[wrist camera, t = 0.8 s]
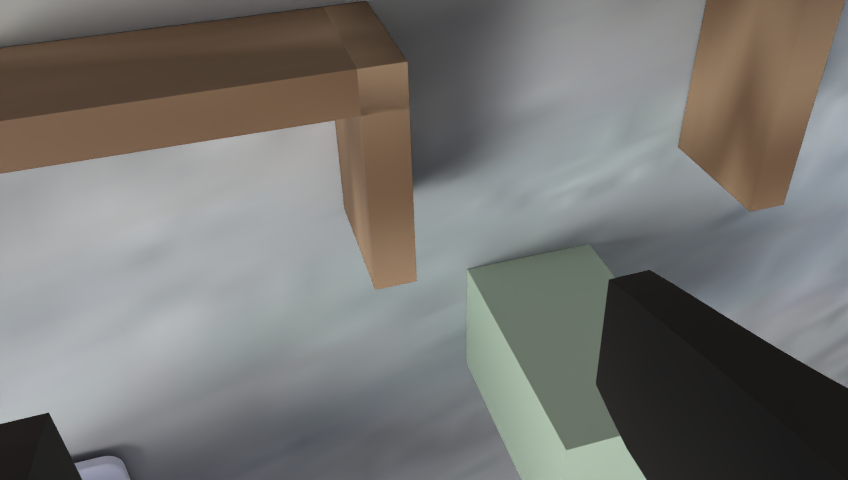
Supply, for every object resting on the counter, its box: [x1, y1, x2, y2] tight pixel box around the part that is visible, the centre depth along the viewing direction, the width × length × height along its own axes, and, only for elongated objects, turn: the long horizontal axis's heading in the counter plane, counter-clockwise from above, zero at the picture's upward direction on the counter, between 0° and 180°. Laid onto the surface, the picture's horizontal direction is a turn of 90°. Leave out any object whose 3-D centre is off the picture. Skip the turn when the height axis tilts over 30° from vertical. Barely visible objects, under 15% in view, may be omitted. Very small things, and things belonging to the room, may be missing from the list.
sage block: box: [466, 244, 646, 480], centre depth 22 cm, size 4×4×7 cm
